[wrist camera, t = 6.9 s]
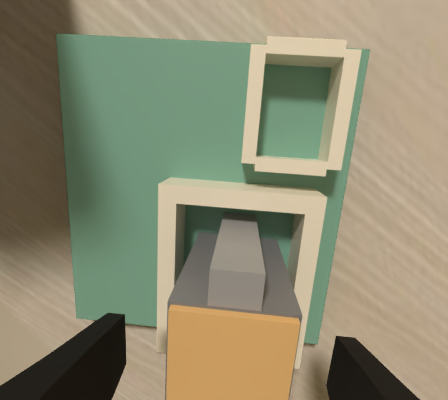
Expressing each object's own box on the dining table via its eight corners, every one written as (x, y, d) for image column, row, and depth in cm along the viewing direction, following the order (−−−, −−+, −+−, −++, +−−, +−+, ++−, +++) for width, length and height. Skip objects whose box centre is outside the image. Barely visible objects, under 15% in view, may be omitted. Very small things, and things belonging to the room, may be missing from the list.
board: (88, 305, 17) (52, 343, 14) (72, 42, 13) (19, 12, 10) (312, 329, 16) (328, 375, 13) (358, 57, 12) (396, 30, 9)
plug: (195, 299, 15) (162, 414, 9) (200, 209, 13) (165, 268, 7) (268, 307, 14) (286, 430, 8) (279, 216, 13) (310, 283, 7)
